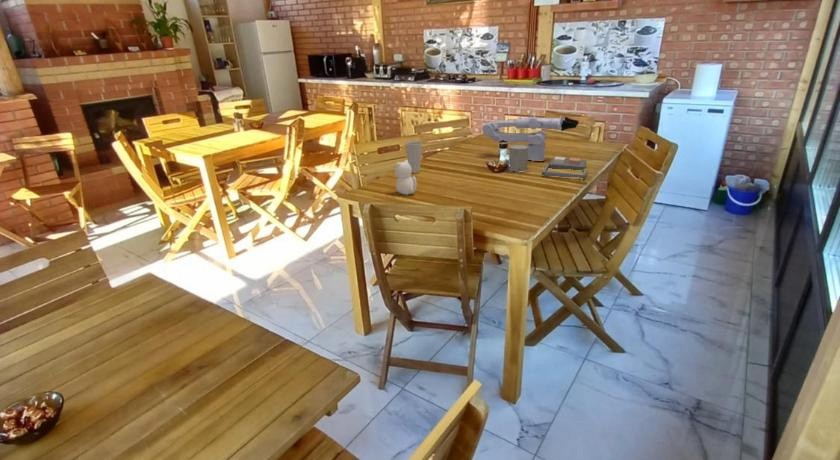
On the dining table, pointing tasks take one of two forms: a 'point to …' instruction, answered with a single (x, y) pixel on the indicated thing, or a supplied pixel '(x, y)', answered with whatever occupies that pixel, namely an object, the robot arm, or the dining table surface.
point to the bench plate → (567, 165)
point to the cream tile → (559, 160)
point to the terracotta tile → (574, 161)
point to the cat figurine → (405, 178)
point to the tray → (562, 173)
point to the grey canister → (518, 157)
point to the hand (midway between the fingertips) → (577, 124)
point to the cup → (414, 155)
